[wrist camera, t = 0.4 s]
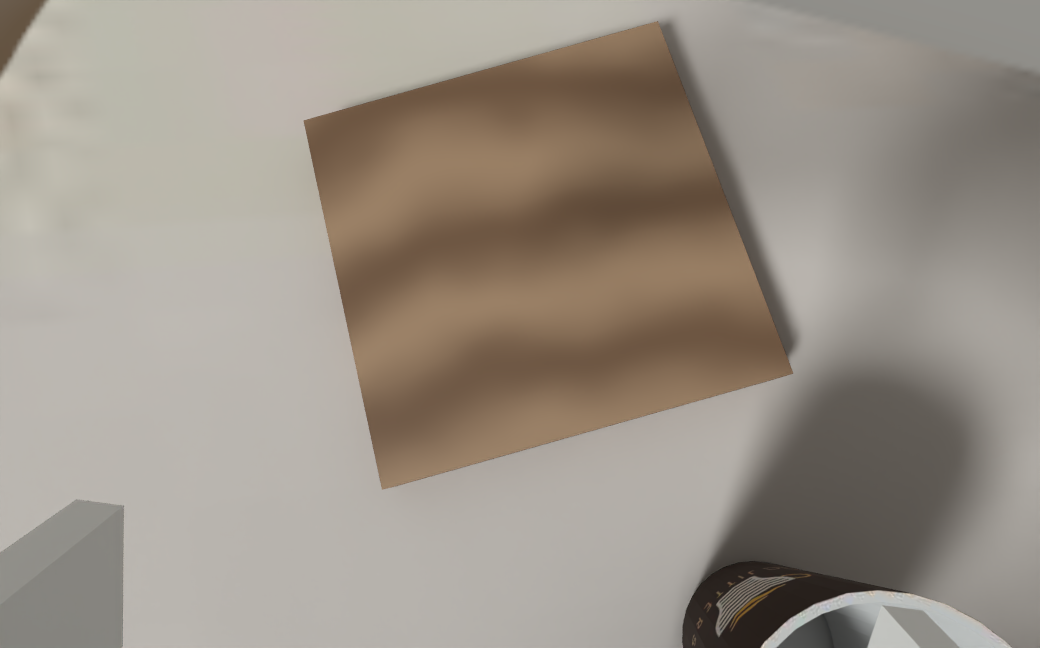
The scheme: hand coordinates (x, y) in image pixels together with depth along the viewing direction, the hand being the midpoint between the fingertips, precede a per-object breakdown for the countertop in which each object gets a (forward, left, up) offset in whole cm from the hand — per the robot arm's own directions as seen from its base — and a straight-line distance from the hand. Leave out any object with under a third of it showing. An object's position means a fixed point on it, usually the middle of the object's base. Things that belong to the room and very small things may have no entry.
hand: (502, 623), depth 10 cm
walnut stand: (+12, -3, -16) cm, 20 cm away
